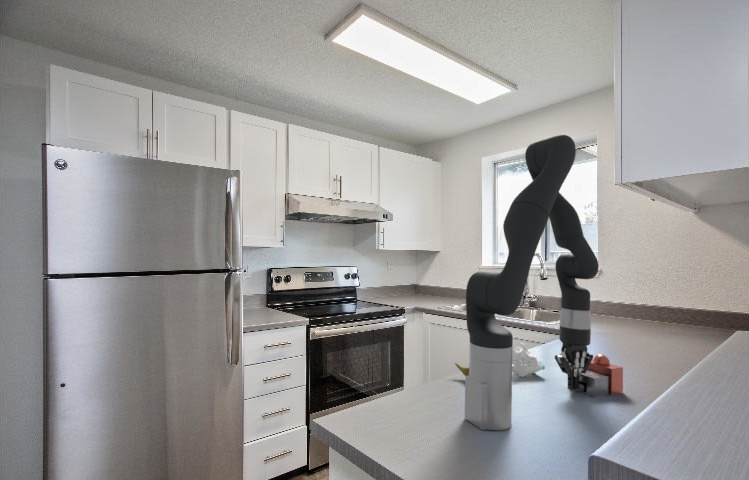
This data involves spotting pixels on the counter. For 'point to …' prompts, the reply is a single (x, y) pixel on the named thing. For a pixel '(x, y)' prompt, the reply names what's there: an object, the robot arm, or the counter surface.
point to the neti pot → (463, 369)
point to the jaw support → (524, 361)
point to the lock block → (595, 383)
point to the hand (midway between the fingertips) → (573, 389)
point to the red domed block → (604, 367)
